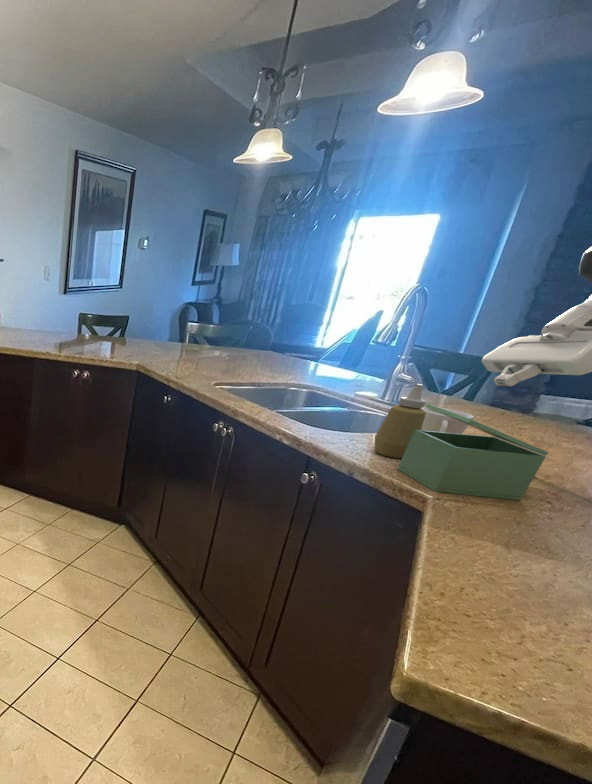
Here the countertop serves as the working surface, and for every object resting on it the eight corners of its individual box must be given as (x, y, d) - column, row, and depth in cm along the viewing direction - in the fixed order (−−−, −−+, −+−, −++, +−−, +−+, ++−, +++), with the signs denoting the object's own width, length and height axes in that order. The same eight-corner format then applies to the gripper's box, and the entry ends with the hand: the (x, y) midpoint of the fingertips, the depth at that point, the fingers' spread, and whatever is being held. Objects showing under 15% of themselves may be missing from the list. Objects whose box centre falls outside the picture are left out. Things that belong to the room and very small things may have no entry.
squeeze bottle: (416, 462, 119) (450, 389, 112) (377, 457, 122) (407, 385, 114) (400, 451, 126) (431, 382, 119) (363, 447, 129) (391, 379, 121)
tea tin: (434, 491, 103) (456, 447, 99) (397, 469, 114) (414, 429, 110) (520, 500, 100) (546, 456, 96) (473, 477, 112) (494, 436, 108)
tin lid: (468, 422, 97) (471, 419, 96) (424, 406, 108) (427, 403, 108) (545, 455, 96) (549, 452, 96) (494, 436, 108) (497, 433, 107)
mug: (455, 448, 131) (472, 412, 127) (458, 462, 121) (478, 423, 117) (404, 438, 137) (420, 404, 133) (403, 451, 127) (420, 414, 123)
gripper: (516, 325, 104) (450, 370, 108) (626, 319, 85) (542, 373, 89) (532, 347, 105) (467, 391, 109) (647, 346, 85) (561, 399, 89)
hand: (501, 383), depth 99 cm, fingers closed
